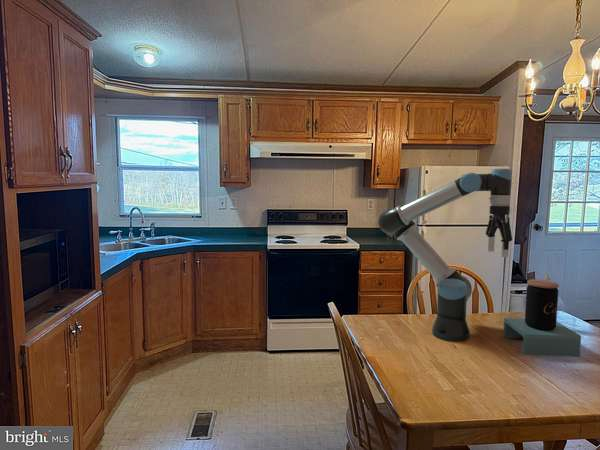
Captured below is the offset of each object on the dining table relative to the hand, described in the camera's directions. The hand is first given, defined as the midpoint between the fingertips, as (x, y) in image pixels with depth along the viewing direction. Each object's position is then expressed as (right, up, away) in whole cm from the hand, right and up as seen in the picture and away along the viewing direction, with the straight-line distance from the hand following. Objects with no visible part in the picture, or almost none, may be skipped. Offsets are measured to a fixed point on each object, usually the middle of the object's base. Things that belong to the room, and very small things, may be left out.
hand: (497, 254), depth 164 cm
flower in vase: (+26, -34, +12) cm, 44 cm away
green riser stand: (+11, -36, -11) cm, 39 cm away
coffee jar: (+11, -28, -12) cm, 33 cm away
